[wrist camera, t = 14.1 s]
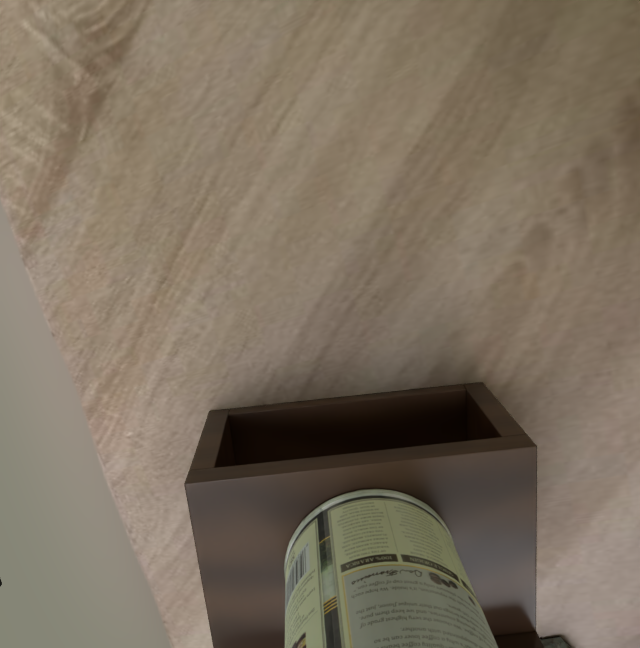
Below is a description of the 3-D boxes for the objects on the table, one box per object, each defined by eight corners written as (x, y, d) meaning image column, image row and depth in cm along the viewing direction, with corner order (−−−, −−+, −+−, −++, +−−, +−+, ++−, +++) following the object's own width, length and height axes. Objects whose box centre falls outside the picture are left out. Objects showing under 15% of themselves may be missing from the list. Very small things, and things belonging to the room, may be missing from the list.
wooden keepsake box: (208, 410, 43) (175, 509, 31) (482, 381, 43) (556, 468, 31) (234, 574, 46) (214, 719, 34) (486, 546, 47) (553, 680, 35)
